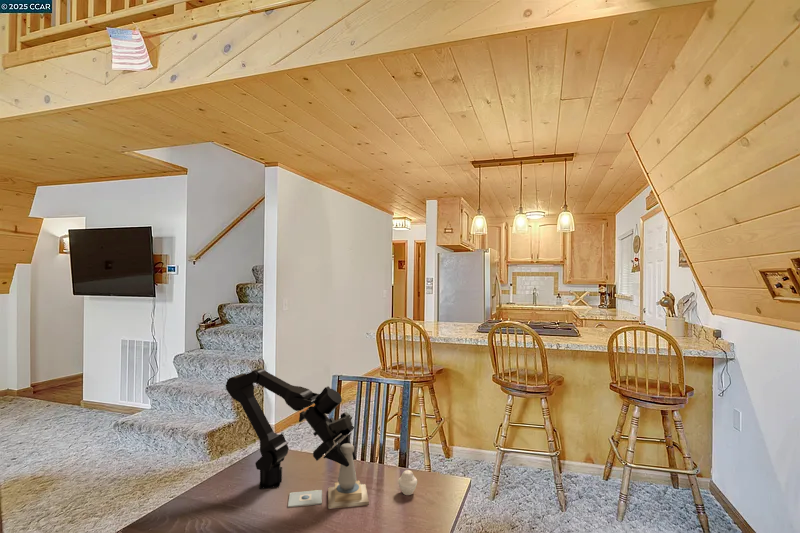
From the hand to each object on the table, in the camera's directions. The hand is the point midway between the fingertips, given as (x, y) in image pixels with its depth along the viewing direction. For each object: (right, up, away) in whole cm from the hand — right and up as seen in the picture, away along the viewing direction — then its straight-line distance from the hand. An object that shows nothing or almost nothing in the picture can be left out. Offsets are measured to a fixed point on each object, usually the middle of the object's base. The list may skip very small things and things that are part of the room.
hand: (351, 462), depth 131 cm
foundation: (-1, -11, 0) cm, 11 cm away
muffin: (+18, -11, +3) cm, 21 cm away
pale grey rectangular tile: (-14, -11, -1) cm, 18 cm away
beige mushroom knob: (-1, -8, 0) cm, 8 cm away
